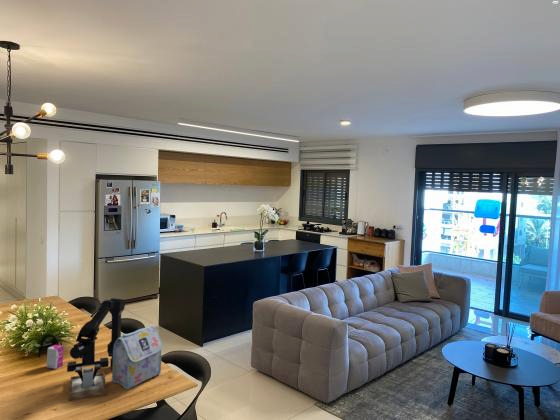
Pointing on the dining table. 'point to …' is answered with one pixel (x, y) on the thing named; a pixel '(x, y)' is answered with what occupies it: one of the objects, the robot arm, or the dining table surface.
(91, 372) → the peg
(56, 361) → the supplement box
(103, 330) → the dining table surface
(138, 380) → the lunch bag
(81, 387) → the shallow tray
